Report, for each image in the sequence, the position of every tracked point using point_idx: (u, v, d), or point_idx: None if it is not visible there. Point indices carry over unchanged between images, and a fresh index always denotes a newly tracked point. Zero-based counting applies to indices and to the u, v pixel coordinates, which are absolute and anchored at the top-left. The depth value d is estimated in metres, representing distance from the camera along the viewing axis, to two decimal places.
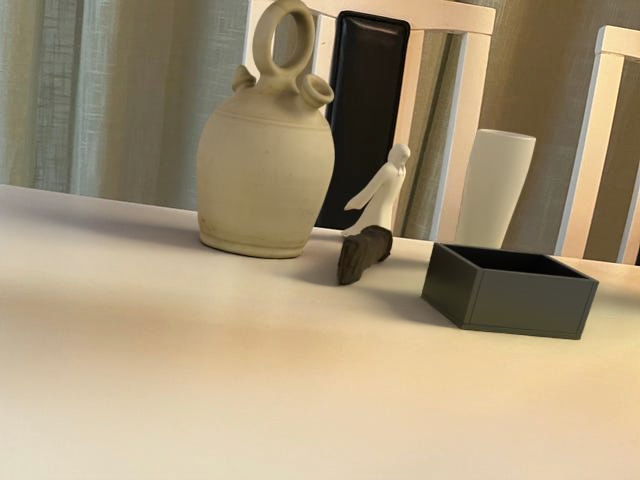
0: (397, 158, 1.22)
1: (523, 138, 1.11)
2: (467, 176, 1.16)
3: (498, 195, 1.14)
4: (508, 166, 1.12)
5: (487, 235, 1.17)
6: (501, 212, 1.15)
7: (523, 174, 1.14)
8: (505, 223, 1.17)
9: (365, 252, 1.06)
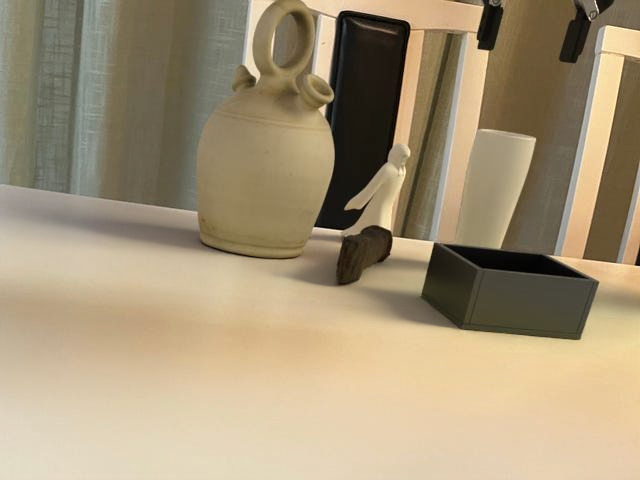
0: (397, 158, 1.22)
1: (523, 138, 1.11)
2: (467, 176, 1.16)
3: (498, 195, 1.14)
4: (508, 166, 1.12)
5: (487, 235, 1.17)
6: (501, 212, 1.15)
7: (523, 174, 1.14)
8: (505, 223, 1.17)
9: (364, 252, 1.07)
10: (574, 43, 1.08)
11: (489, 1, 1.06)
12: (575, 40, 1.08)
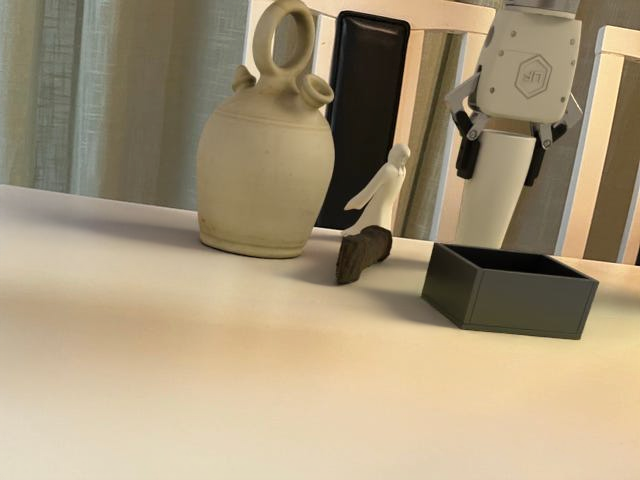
0: (397, 158, 1.22)
1: (523, 138, 1.11)
2: None
3: (498, 195, 1.14)
4: (508, 166, 1.12)
5: (487, 235, 1.17)
6: (501, 212, 1.15)
7: (523, 174, 1.14)
8: (505, 223, 1.17)
9: (364, 252, 1.07)
10: (530, 169, 1.15)
11: (467, 137, 1.12)
12: (531, 166, 1.15)
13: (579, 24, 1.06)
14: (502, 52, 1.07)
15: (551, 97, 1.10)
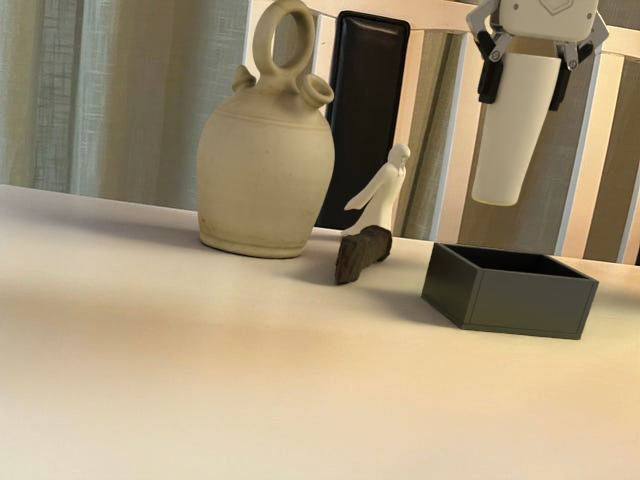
0: (397, 158, 1.22)
1: (548, 58, 1.07)
2: None
3: (523, 119, 1.10)
4: (532, 88, 1.08)
5: (511, 163, 1.13)
6: (525, 138, 1.11)
7: (548, 97, 1.09)
8: (529, 150, 1.12)
9: (363, 252, 1.07)
10: (555, 92, 1.11)
11: (489, 58, 1.08)
12: (556, 89, 1.10)
13: None
14: None
15: (577, 13, 1.05)
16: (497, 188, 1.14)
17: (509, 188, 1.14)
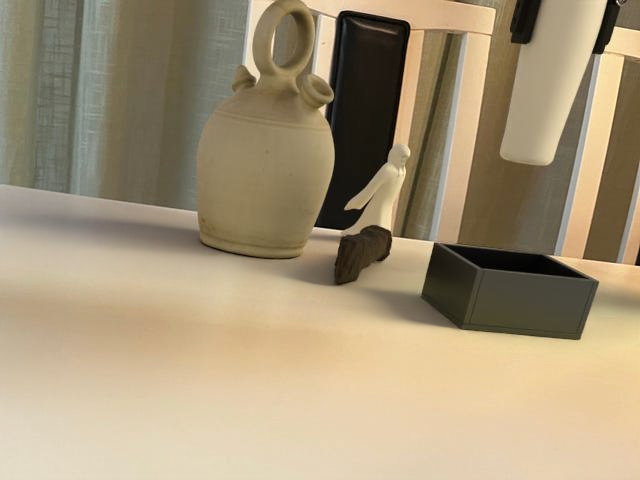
0: (397, 158, 1.22)
1: None
2: None
3: (562, 62, 0.94)
4: (575, 24, 0.93)
5: (547, 114, 0.97)
6: (565, 84, 0.95)
7: (593, 36, 0.94)
8: (569, 99, 0.97)
9: (362, 252, 1.07)
10: (601, 31, 0.95)
11: None
12: (602, 28, 0.95)
13: None
14: None
15: None
16: (530, 144, 0.99)
17: (544, 144, 0.99)
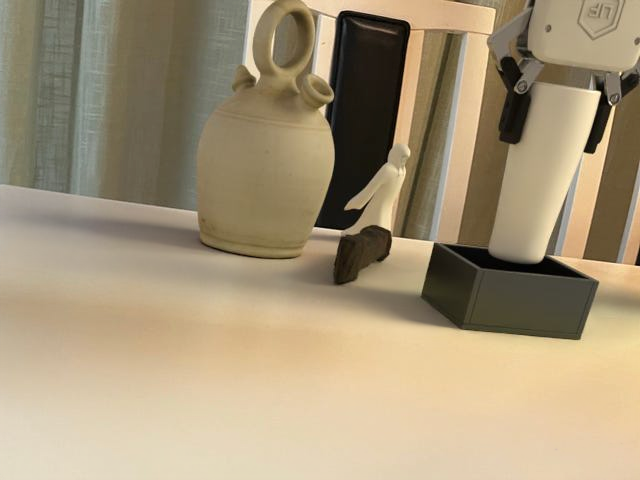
0: (397, 158, 1.22)
1: (586, 91, 0.88)
2: None
3: (553, 163, 0.91)
4: (566, 126, 0.89)
5: (537, 214, 0.94)
6: (556, 185, 0.92)
7: (584, 137, 0.91)
8: (560, 199, 0.93)
9: (362, 251, 1.07)
10: (592, 131, 0.92)
11: (514, 90, 0.89)
12: (593, 128, 0.91)
13: None
14: None
15: (623, 38, 0.86)
16: (520, 244, 0.95)
17: (534, 244, 0.95)
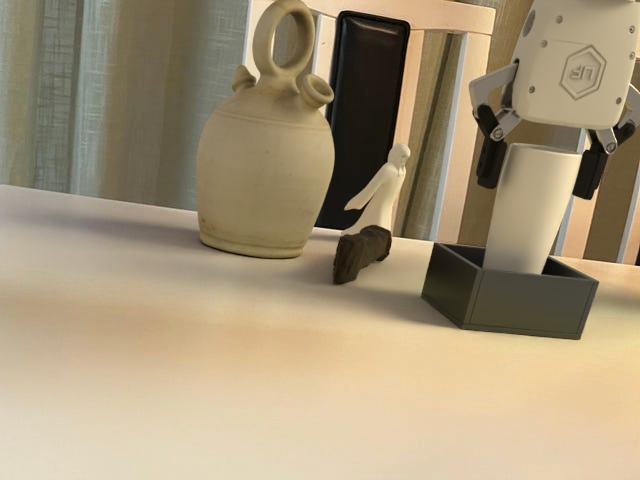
0: (397, 158, 1.22)
1: (567, 155, 0.91)
2: (497, 200, 0.95)
3: (536, 223, 0.94)
4: (548, 188, 0.92)
5: (521, 271, 0.96)
6: (539, 244, 0.95)
7: (566, 198, 0.93)
8: (543, 257, 0.96)
9: (361, 251, 1.07)
10: (589, 178, 0.94)
11: (490, 135, 0.91)
12: (590, 175, 0.94)
13: None
14: (545, 43, 0.86)
15: (604, 98, 0.89)
16: None
17: None
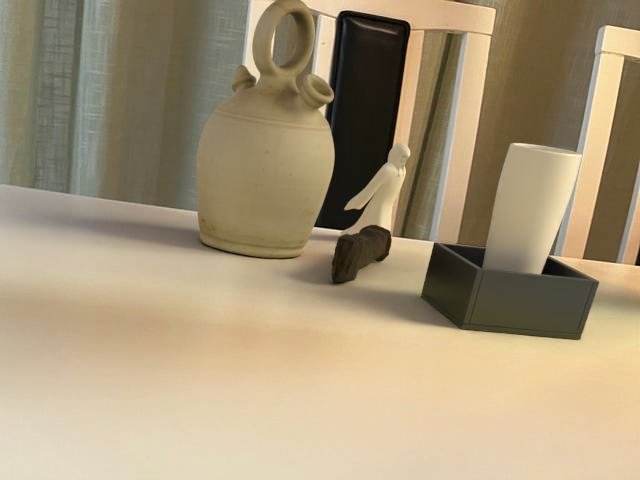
0: (397, 158, 1.22)
1: (567, 155, 0.91)
2: (497, 200, 0.95)
3: (536, 223, 0.94)
4: (548, 188, 0.92)
5: (521, 271, 0.96)
6: (539, 244, 0.95)
7: (566, 198, 0.93)
8: (543, 257, 0.96)
9: (360, 251, 1.07)
10: None
11: None
12: None
13: None
14: None
15: None
16: None
17: None
